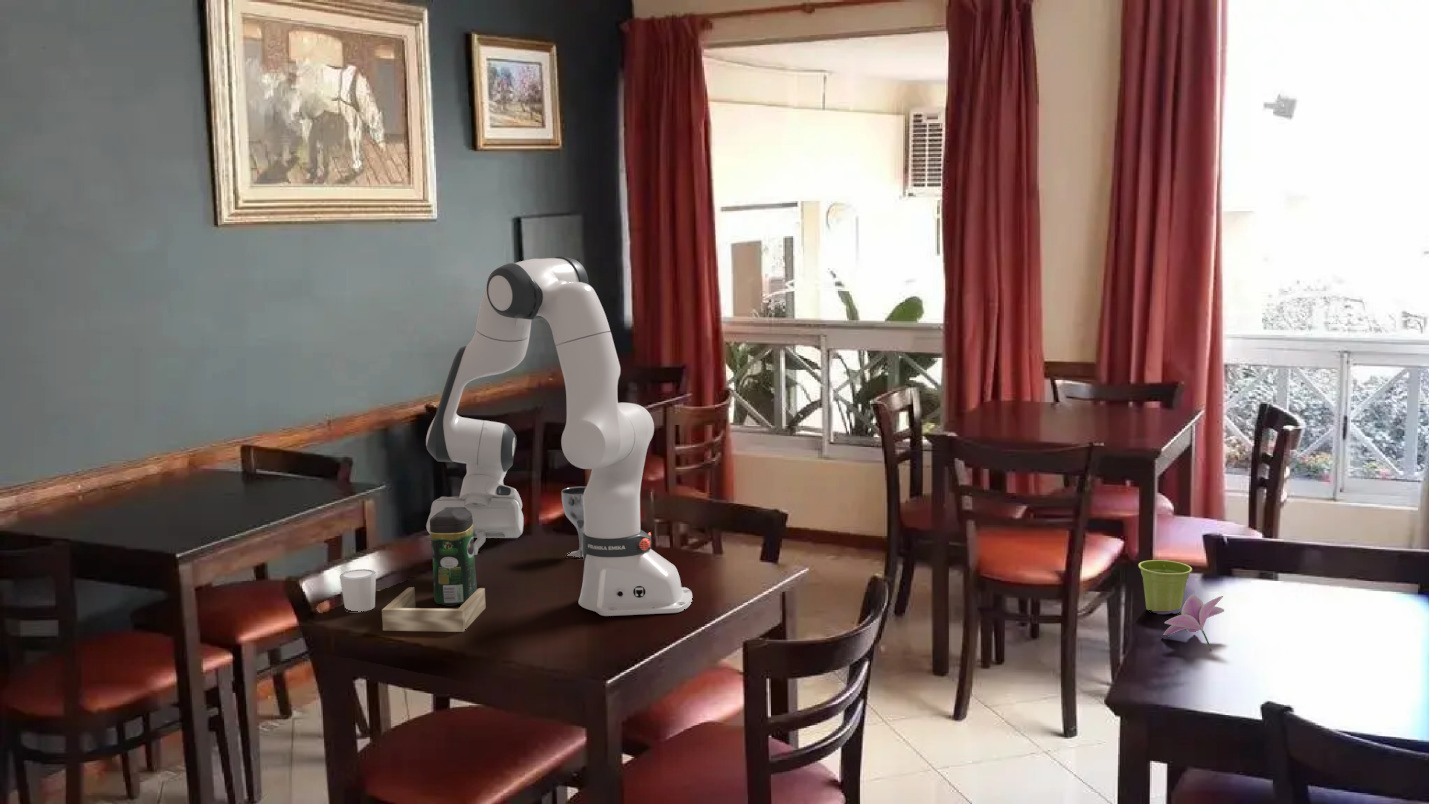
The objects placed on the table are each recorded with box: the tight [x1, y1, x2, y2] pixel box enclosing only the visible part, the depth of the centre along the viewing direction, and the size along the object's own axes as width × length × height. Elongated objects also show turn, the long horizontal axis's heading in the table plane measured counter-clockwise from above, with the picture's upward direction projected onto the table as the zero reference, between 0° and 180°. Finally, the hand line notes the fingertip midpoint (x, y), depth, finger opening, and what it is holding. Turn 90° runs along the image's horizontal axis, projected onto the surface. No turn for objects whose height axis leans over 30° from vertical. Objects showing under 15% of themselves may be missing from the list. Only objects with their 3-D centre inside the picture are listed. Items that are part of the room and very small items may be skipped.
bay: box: [381, 586, 487, 633], centre depth 234 cm, size 15×14×4 cm
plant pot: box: [1138, 559, 1193, 611], centre depth 229 cm, size 9×9×9 cm
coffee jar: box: [429, 507, 478, 607], centre depth 244 cm, size 10×8×19 cm
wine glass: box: [561, 485, 587, 558], centre depth 276 cm, size 8×8×15 cm
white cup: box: [339, 568, 377, 613], centre depth 241 cm, size 7×7×7 cm
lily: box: [1162, 594, 1225, 647], centre depth 211 cm, size 12×12×10 cm
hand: (469, 553), depth 255 cm, fingers closed
